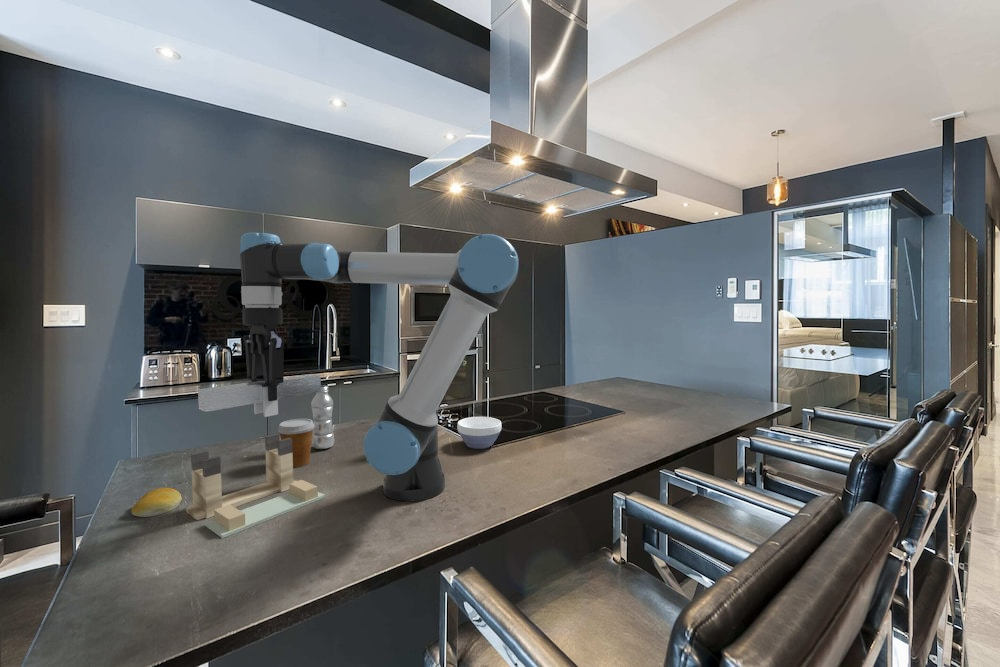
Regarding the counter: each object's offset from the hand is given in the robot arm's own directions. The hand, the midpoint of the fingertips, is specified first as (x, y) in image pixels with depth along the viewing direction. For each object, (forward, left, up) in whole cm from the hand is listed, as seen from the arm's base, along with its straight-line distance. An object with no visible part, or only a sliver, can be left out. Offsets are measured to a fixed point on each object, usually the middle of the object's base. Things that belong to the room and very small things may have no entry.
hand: (266, 413), depth 93 cm
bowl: (-10, -63, -22) cm, 67 cm away
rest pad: (0, 0, -22) cm, 22 cm away
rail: (0, 0, +3) cm, 3 cm away
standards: (+11, 0, -22) cm, 24 cm away
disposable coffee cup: (+23, -19, -22) cm, 37 cm away
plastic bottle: (+29, -31, -22) cm, 48 cm away
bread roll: (+22, +14, -22) cm, 34 cm away
